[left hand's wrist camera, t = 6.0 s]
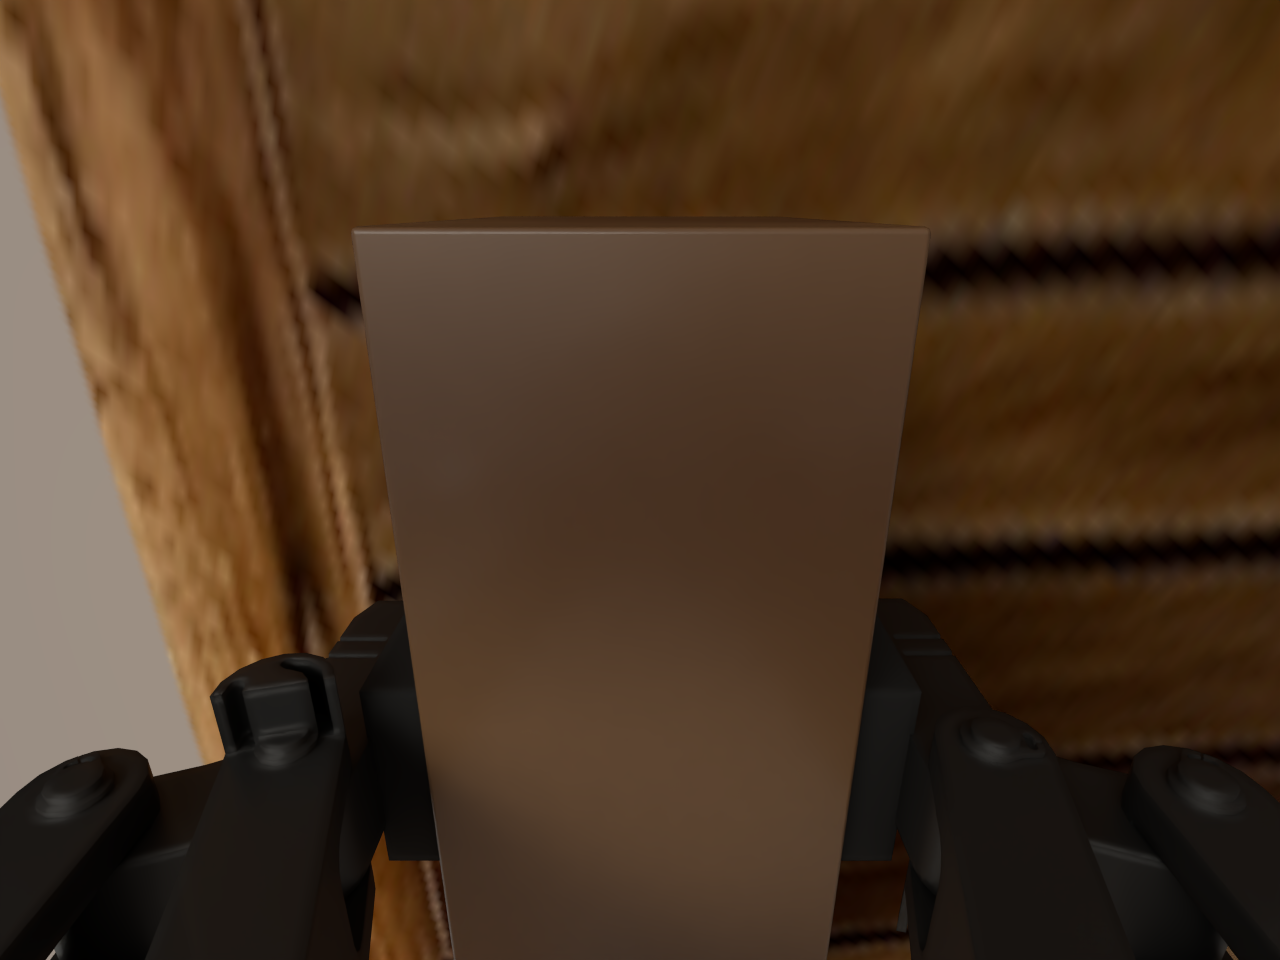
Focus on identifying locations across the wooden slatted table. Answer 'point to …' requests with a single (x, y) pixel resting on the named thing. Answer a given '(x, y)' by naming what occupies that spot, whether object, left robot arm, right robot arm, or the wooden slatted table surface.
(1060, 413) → the wooden slatted table surface
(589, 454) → the bar
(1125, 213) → the wooden slatted table surface
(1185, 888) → the left robot arm
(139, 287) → the wooden slatted table surface
